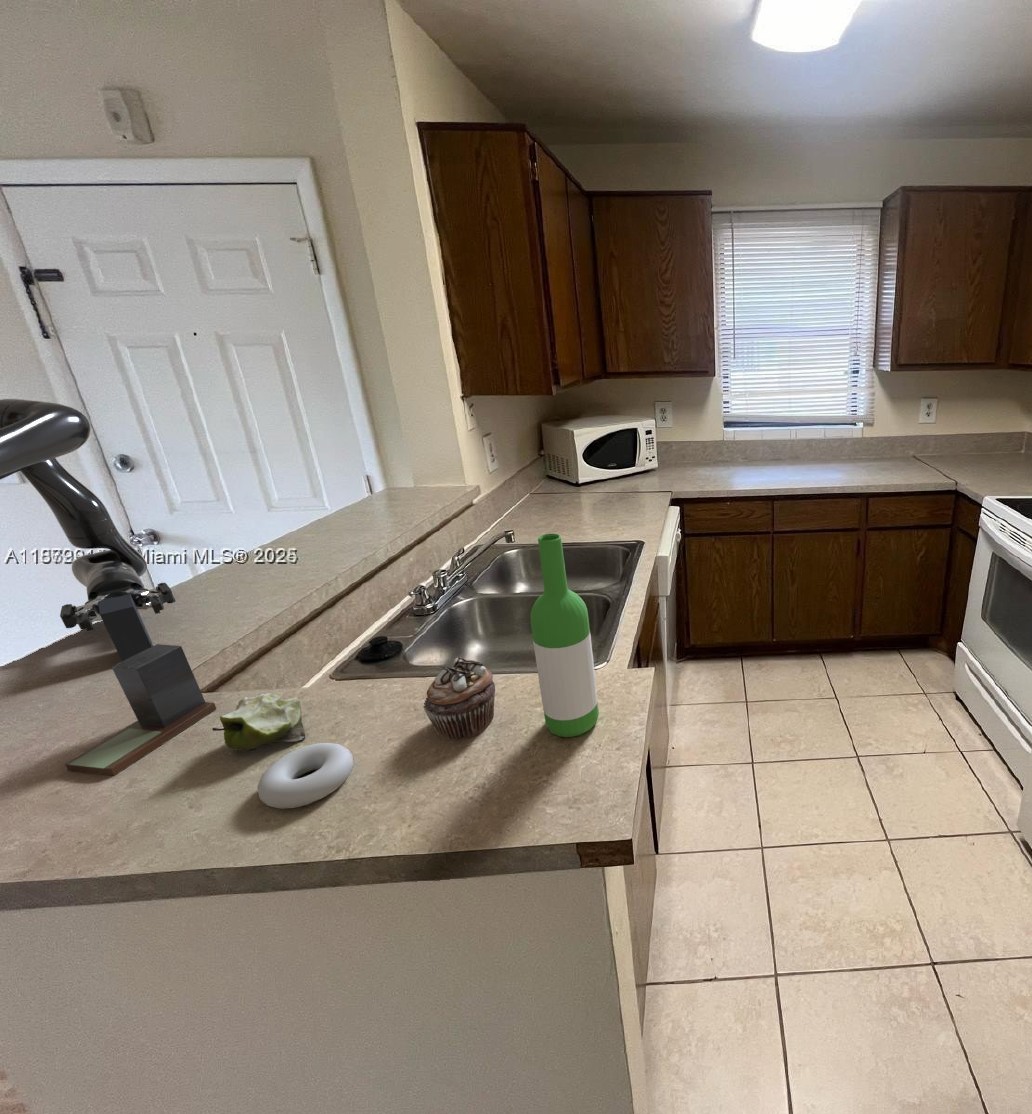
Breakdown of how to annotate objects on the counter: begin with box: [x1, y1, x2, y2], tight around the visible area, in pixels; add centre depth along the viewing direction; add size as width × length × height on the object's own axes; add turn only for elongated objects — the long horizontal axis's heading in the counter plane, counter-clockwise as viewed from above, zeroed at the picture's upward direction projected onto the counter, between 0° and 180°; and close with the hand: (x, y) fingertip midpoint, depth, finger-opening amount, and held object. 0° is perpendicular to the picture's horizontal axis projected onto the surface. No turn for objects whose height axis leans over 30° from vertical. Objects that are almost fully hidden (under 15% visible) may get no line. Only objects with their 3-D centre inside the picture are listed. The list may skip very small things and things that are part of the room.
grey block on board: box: [64, 643, 217, 776], centre depth 79 cm, size 7×14×11 cm, turn 173°
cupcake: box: [423, 656, 496, 741], centre depth 83 cm, size 10×10×10 cm
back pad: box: [98, 594, 154, 662], centre depth 99 cm, size 7×4×10 cm, turn 48°
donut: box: [257, 742, 354, 810], centre depth 73 cm, size 10×3×10 cm
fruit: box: [211, 692, 306, 752], centre depth 80 cm, size 9×9×8 cm
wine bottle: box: [530, 533, 600, 738], centre depth 80 cm, size 8×8×30 cm
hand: (123, 616), depth 101 cm, fingers open, 8 cm apart
